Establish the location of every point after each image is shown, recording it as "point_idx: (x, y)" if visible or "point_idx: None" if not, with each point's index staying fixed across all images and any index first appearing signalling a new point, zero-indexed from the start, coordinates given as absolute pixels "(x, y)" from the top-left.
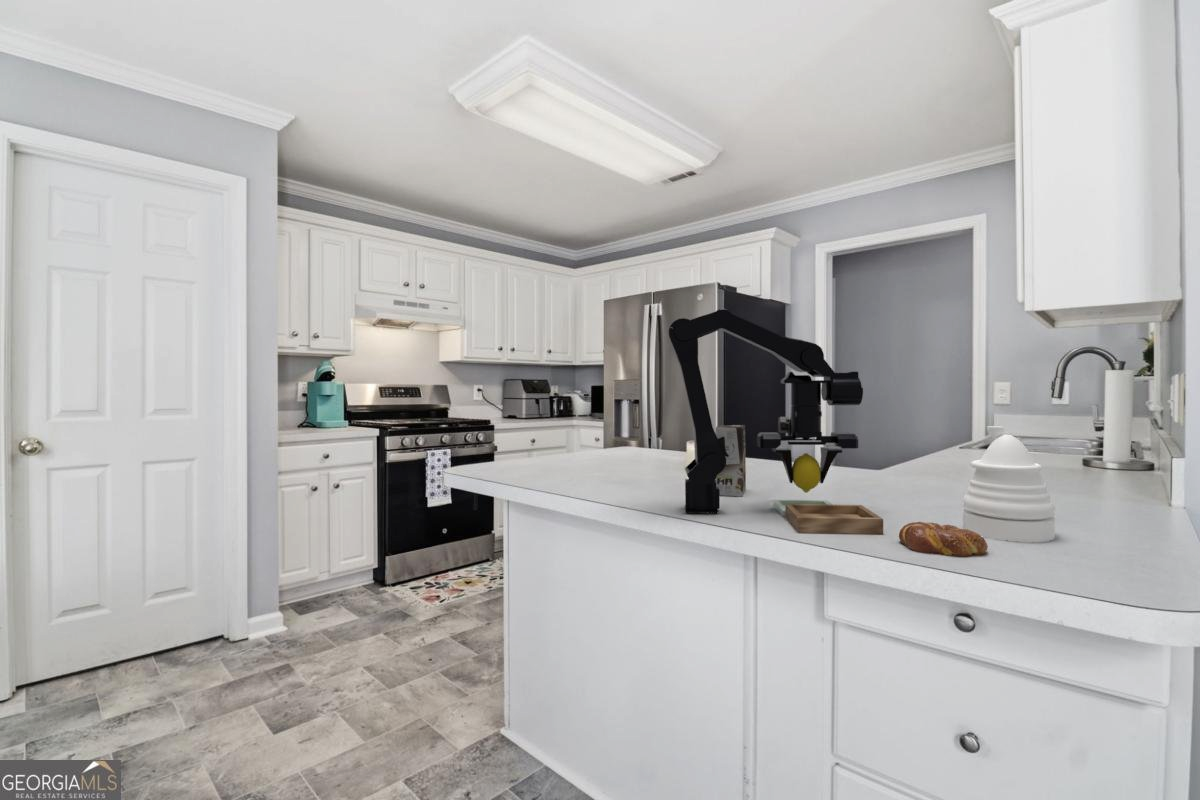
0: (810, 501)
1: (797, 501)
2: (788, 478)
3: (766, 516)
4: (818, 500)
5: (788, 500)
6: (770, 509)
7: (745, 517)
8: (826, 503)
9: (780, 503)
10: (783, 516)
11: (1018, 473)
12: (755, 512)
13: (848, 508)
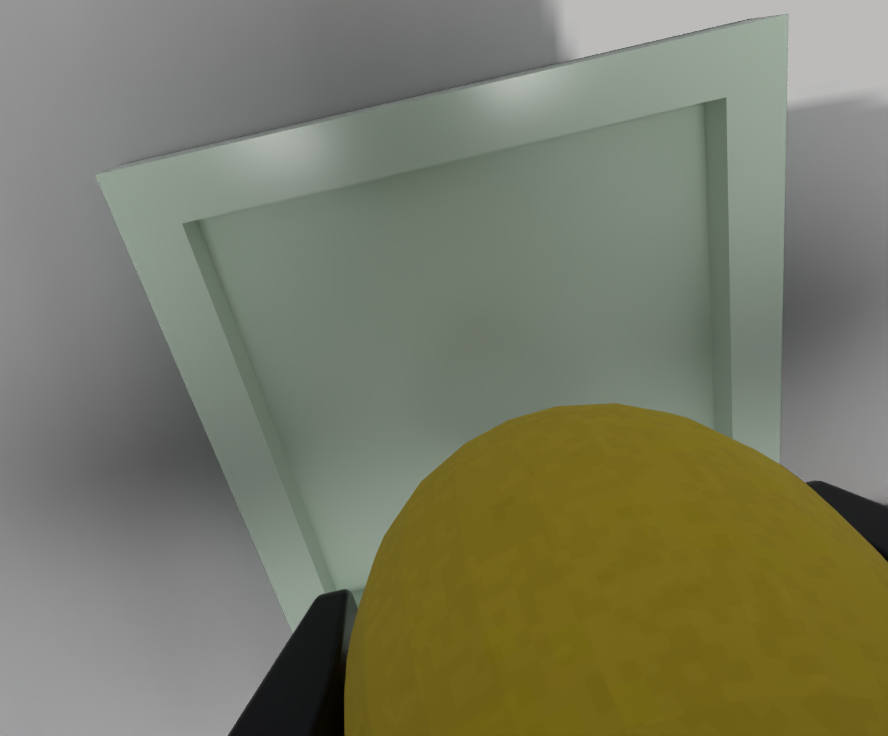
0: (568, 129)
1: (409, 169)
2: (293, 641)
3: (187, 640)
4: (675, 54)
5: (296, 171)
6: (148, 384)
7: (44, 710)
8: (732, 235)
9: (233, 384)
10: None
11: None
12: (54, 543)
13: None
